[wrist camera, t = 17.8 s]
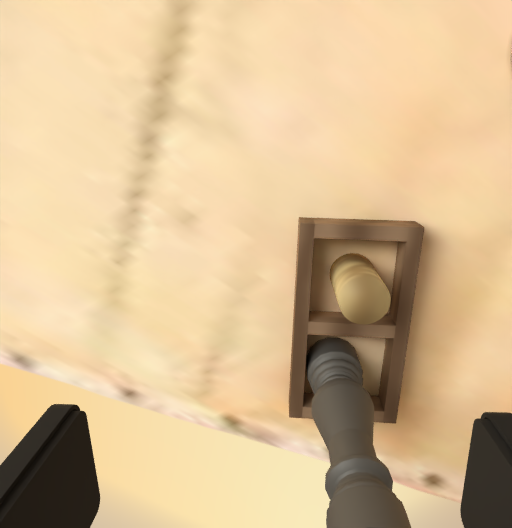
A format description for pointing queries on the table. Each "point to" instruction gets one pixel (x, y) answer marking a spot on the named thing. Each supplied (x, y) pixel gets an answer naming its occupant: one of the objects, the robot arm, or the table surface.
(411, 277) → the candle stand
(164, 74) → the table surface
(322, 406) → the candle holder
